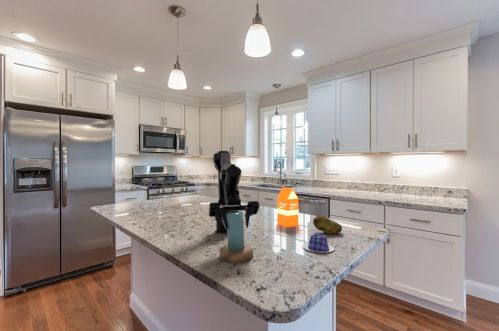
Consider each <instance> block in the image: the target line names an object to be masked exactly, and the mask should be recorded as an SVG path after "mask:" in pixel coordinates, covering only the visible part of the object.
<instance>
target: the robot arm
mask: <svg viewBox="0 0 499 331" xmlns="http://www.w3.org/2000/svg"><path fill="white" fill-rule="evenodd" d="M212 161H213V162H212V163H213V164H214V168H215V170H216V171H217V183H218V185H217V186H218V201H214V202H213V201H212V202H210V203H209V205H208V217H211V218H212V217H214V220H215V221H216V223H215V224H216V228H215V230H214V232H215V233H220V234H227V219H226V213H228V212H242V211H243V212H244V211H245V212H244V218H245V220H244V221H245V227H246V229H248V228H249V225H250V224H249V223H250V219H251V217H252V216H254V215H257V214H258V212H259V210H260V206H261V205H260V203H259V201H258V200H248V201H247V204H242V201H241V195H240V190H239V185H240V181H241V178H242V169H241V168H240V167H239V166H236V164H235V163H233V164H232V161H231V153H230V151H229V150H218V151H217V152H216V153H215V152H214V154H213V155H212Z"/></svg>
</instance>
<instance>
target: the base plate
mask: <svg viewBox="0 0 499 331" xmlns="http://www.w3.org/2000/svg"><path fill="white" fill-rule="evenodd" d="M244 246H245V249H244V250H243V251H239V252H231V251H228V244H227V245H223V246H221V248H220V249H219V259H220V260H221V261H223V262H225V263H230V264H241V263H246V262H249V261H251V260H252V259H253V258H254V248H253V247H252V246H250V245H248V244H244Z"/></svg>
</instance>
